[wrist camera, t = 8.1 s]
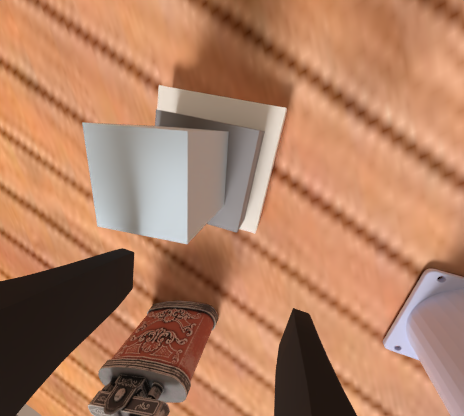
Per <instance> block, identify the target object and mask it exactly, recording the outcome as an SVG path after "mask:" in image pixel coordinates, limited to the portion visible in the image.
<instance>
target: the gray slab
mask: <svg viewBox="0 0 464 416" xmlns="http://www.w3.org/2000/svg"><path fill="white" fill-rule="evenodd" d="M155 126H165V127H177V128H190V129H203V130H215V131H228V132H229V135H228V152H227V168H226V184H225V200H224V206H223V207H222V208H221V209H220V210H219V211H218V212H217V213H216V214H215V215H214V216H213V217H212V219H211V220H210V221H209V222H208V223H207V224H209V225H213V226H216V227H220V228H223V229H226V230H230V231H233V232H238V230H239V228H240V227H241V225H242V223H243V221H244V220H245V216H246V211H247V207H248V202H249V198H250V194H251V189H252V185H253V181H254V176H255V172H256V168H257V163H258V159H259V155H260V150H261V146H262V142H263V137H264V133H265V131H261V130H257V129H252V128H247V127H242V126H237V125H232V124H227V123H222V122H218V121H213V120H208V119H203V118H198V117H193V116H188V115H184V114H179V113H174V112H168V111H163V110H157V109H156V120H155Z"/></svg>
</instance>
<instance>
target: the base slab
mask: <svg viewBox="0 0 464 416" xmlns="http://www.w3.org/2000/svg"><path fill="white" fill-rule="evenodd" d="M157 110H163V111H168V112H174V113H179V114H184V115H188V116H193V117H198V118H203V119H208V120H213V121H218V122H222V123H227V124H232V125H237V126H242V127H247V128H252V129H257V130H261V131H265V133H264V137H263V142H262V146H261V150H260V155H259V159H258V163H257V168H256V172H255V176H254V181H253V185H252V189H251V194H250V198H249V202H248V207H247V211H246V216H245V220H244V221H243V223H242V225H241V227H240V228H239V229H242V230H245V231H249V232H252V233H256V230H257V228H258V225H259V222H260V218H261V214H262V210H263V206H264V202H265V198H266V194H267V190H268V186H269V182H270V178H271V174H272V170H273V166H274V162H275V158H276V154H277V150H278V146H279V142H280V138H281V134H282V130H283V126H284V122H285V118H286V114H287V108H285V107H279V106H273V105H268V104H262V103H256V102H251V101H245V100H239V99H234V98H228V97H223V96H217V95H211V94H206V93H200V92H194V91H189V90H183V89H177V88H172V87H166V86H160V85H159V90H158V108H157Z"/></svg>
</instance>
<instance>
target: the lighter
mask: <svg viewBox="0 0 464 416" xmlns="http://www.w3.org/2000/svg"><path fill="white" fill-rule="evenodd" d="M217 321H218V314H217V312H216V310H215V309H214V308H213V307H212V306H210V305H207V304H202V303H197V302H189V301H167V302H161V303H156V304H154V305H153V306H152V307H151V308H150V309H149V311H148V312H147V316H146V317H145V318H144V320H143V321H142V322H141V323H140V324H139V326H138V327H137V328H136V329H135V331H134V332H133V333H132V334H131V336H130V337H129V338H128V339H127V340H126V342H125V343H124V344H123V345H122V347H121V348H120V349H119V350H118V352H117V353H116V354H115V355H114V356H113V358H112V359H110V360H107V362H106V363H105V364H104V365H103V366H102V368H101V369H100V370H99V378H100V380H101V382H102V383H103V384H104V385H105V387H104V388H103V389H102V390H101V391H99V392H98V393H97V394H96V396H95V397H94V398H93V400H92V401H91V402H90V404H89V405H88V408H89V411H90V412H91V414H92V415H94V416H168V414H169V412H170V410H169V407H168V405H167V404H166V403H165V402H183V401H184V400H185V399H186V397H187V395H188V392H189V390H190V387H191V383H190V381H191V379H192V376H193V374H194V371H195V369H196V367H197V364H198V362H199V360H200V357H201V355H202V352H203V350H204V348H205V345H206V343H207V340H208V338H209V336H210V333H211V331H212V330H213V329H214V328H215V326H216V323H217Z"/></svg>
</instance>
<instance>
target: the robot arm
mask: <svg viewBox="0 0 464 416" xmlns="http://www.w3.org/2000/svg"><path fill="white" fill-rule="evenodd" d="M133 268H134V252H132V251H129V250H126V249H123V248H122V249H118V250H114V251H110V252H107V253H104V254H100V255H97V256H94V257H91V258H87V259H84V260H81V261H77V262H74V263H71V264H67V265H64V266H60V267H57V268H53V269H49V270H46V271H42V272H38V273H35V274H31V275H27V276H23V277H18V278H14V279H10V280H5V281H0V416H16V414H17V413H18V412H19V411H20V410H21V408H22V407H23V406H24V405H25V404H26V402H27V401H28V400H29V399H30V398H31V397H32V395H33V394H34V393H35V392H36V391H37V389H38V388H39V387H40V386H41V385H42V384H43V383H44V382H45V380H46V379H47V378H48V377H49V376H50V375H51V374H52V372H53V371H54V370H55V369H56V368H57V367H58V366H59V365H60V364H61V362H62V361H63V360H64V359H65V358H66V357H67V356H68V355H69V354H70V353H71V352H72V351H73V350H74V349H75V348H76V347H77V346H78V345H79V344H80V343H82V342H83V341H84V340H85V339H86V338H87V337H88V336H89V335H90V334H91V333H92V332H93V331H94V330H95V329H96V328H97V327H98V326H99V325H100V324H101V323H102V322H103V321H104V320H105V319H106V318H107V317H108V316H109V315H110V314H111V313H112V312H113V311H114V310H115V309H116V308H117V307H118V306H119V305H120V304H121V302H122V301H123V300H124V299H125V297H126V296H127V295H128V294H129V292H130V291H131V290H132V288H133ZM440 276H443V277H442V278H441V279H437V278H438V277H440ZM383 344H384V346H385V348H386V349H388V350H391V351H394V352H397V353H400V354H403V355H406V356H408V357H411V358H414V359H417V360H420V362H421V364H422V365H423V367H424V369H425V371H426V373H427V374H428V376H429V378H430V380H431V381H432V383H433V385H434V387H435V389H436V390H437V392H438V394H439V396H440V397H441V399H442V401H443V403H444V405H445V406H446V408H447V410H448V412H449V413H450V415H451V416H464V277H462V276H459V275H455V274H451V273H448V272H444V271H441V270H437V269H432V268H431V269H427V270H425V271H424V272H423V274H422V276H421V277H420V279H419V281H418V282H417V284H416V286H415V288H414V289H413V291H412V293H411V294H410V296H409V298H408V299H407V301H406V303H405V304H404V306H403V308H402V309H401V311H400V313H399V315H398V316H397V318H396V320H395V321H394V323H393V325H392V326H391V328H390V330H389V331H388V333H387V335H386V336H385V338H384V340H383ZM396 346H397V347H396ZM274 416H357V415H356V413H355V411H354V409H353V407H352V405H351V403H350V402H349V400H348V398H347V396H346V394H345V392H344V390H343V388H342V386H341V384H340V382H339V380H338V378H337V376H336V374H335V372H334V369H333V367H332V365H331V363H330V361H329V359H328V357H327V354H326V352H325V350H324V348H323V345H322V343H321V341H320V338H319V336H318V334H317V331H316V329H315V326H314V324H313V321H312V319H311V317H310V315H309V314H308V313H306V312H303V311H300V310H297V309H294V308H293V310H292V313H291V315H290V318H289V321H288V323H287V326H286V328H285V331H284V334H283V336H282V339H281V342H280V344H279V350H278V358H277V365H276V375H275V407H274Z"/></svg>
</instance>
